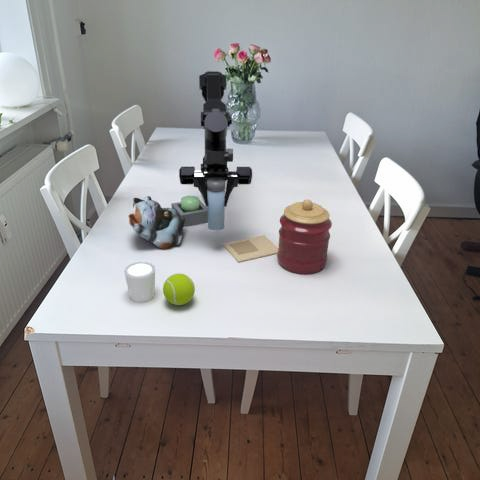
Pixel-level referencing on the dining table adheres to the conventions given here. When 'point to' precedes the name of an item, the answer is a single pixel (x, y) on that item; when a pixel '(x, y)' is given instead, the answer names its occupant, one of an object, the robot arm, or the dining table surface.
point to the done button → (189, 204)
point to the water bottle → (216, 203)
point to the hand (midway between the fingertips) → (216, 206)
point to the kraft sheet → (251, 248)
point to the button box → (193, 214)
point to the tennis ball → (178, 289)
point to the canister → (304, 237)
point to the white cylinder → (140, 281)
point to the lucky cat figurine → (156, 223)
